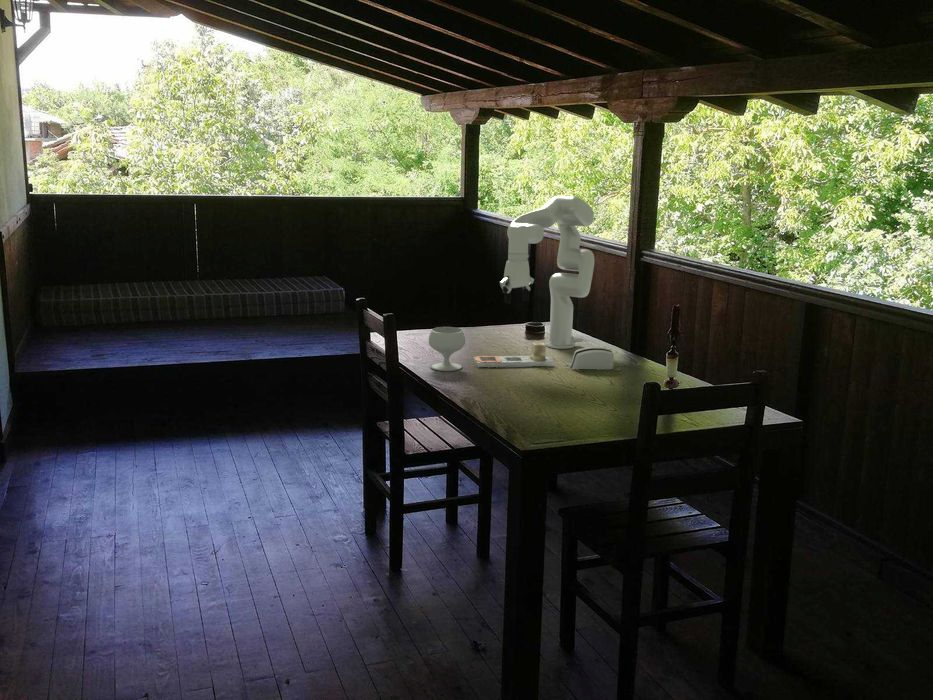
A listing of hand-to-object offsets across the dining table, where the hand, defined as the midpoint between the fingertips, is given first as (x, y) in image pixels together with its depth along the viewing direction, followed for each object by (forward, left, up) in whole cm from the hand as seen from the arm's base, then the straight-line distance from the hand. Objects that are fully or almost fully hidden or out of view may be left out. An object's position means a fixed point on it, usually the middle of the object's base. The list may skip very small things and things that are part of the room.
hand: (516, 301), depth 340 cm
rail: (0, 0, -25) cm, 25 cm away
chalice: (+27, +4, -25) cm, 37 cm away
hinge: (-29, +10, -25) cm, 39 cm away
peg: (-10, 0, -25) cm, 26 cm away
